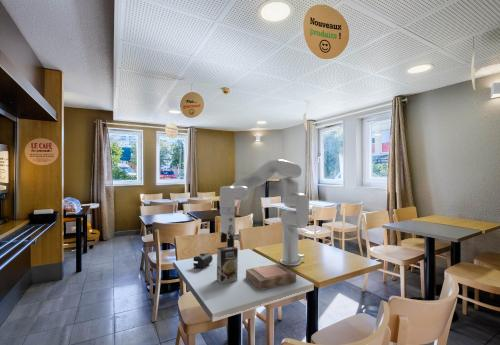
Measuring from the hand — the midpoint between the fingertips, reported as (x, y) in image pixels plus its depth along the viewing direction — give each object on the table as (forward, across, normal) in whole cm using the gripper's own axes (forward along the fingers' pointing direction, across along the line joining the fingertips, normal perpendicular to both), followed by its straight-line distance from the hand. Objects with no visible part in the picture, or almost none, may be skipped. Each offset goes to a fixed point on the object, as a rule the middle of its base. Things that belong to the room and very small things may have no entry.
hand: (227, 244), depth 127 cm
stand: (+18, -9, -20) cm, 28 cm away
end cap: (+18, +24, +6) cm, 31 cm away
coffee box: (+18, 0, 0) cm, 18 cm away
